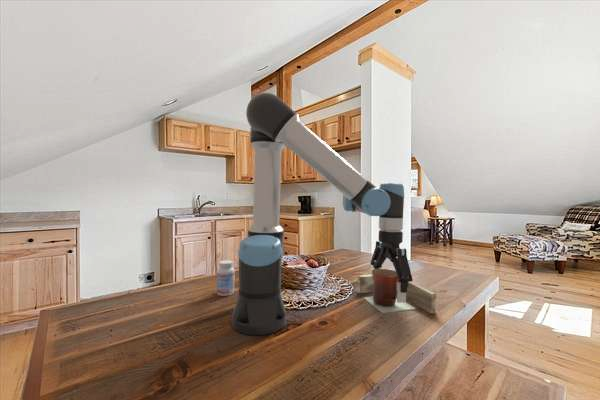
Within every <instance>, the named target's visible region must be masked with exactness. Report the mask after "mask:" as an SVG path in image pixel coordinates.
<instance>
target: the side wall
mask: <svg viewBox="0 0 600 400" xmlns="http://www.w3.org/2000/svg"><path fill="white" fill-rule="evenodd" d="M357 277H358V278H357V293H359V294H366V293H367V294H368V293H373V276H372V274H364V275H361V274H360V275H357Z"/></svg>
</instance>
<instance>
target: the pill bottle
mask: <svg viewBox="0 0 600 400" xmlns="http://www.w3.org/2000/svg"><path fill="white" fill-rule="evenodd" d="M218 264H219V265H218V266H219V268H217V270H216V294H217V296H221V297H228V296H231V295H233V294H234V293H235V274H236V273H235V272H236V271H235V268H234V267H233V266H234V261H232V260H229V259H227V260H226V259H225V260H220V261H219V262H218Z"/></svg>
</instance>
